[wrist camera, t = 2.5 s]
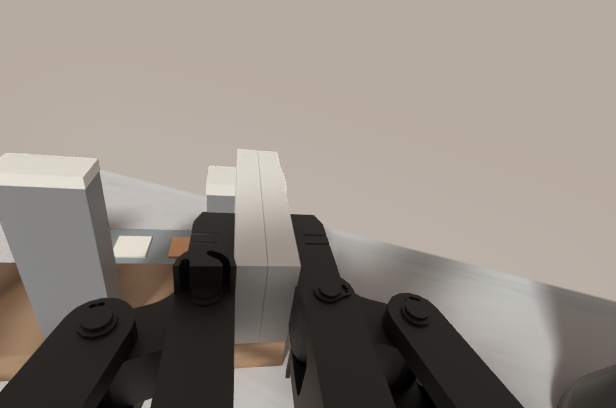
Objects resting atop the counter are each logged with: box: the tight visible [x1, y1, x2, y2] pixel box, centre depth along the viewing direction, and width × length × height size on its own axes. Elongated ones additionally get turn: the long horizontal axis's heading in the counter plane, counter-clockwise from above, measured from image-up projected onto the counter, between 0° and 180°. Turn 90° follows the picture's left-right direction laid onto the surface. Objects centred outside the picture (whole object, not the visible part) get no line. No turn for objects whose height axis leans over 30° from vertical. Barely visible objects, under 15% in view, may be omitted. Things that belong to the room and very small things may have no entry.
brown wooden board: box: [0, 263, 286, 381], centre depth 31 cm, size 32×10×3 cm, turn 99°
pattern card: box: [110, 229, 192, 264], centre depth 40 cm, size 18×7×1 cm, turn 99°
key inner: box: [206, 166, 287, 213], centre depth 27 cm, size 3×5×14 cm, turn 99°
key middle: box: [0, 153, 122, 338], centre depth 24 cm, size 3×5×14 cm, turn 99°
